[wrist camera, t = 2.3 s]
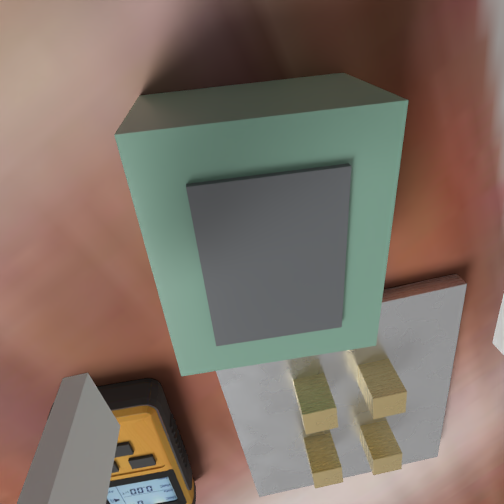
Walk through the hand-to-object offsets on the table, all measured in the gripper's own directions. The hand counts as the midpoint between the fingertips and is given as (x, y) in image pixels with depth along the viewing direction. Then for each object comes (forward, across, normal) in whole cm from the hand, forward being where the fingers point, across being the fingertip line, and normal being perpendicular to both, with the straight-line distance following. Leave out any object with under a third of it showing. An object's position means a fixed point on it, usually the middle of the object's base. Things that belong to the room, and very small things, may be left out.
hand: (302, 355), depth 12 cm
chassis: (+12, +4, -20) cm, 23 cm away
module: (+12, 0, 0) cm, 12 cm away
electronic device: (+12, -14, -20) cm, 27 cm away
